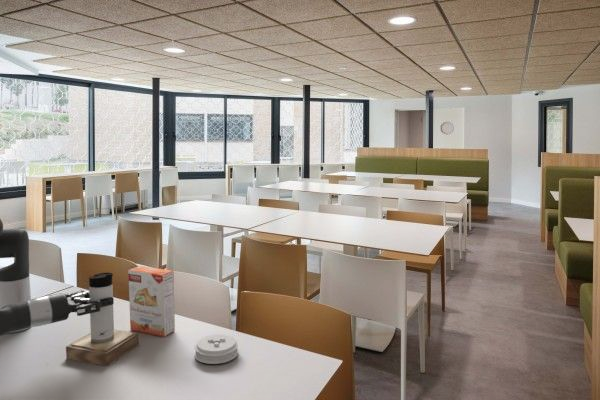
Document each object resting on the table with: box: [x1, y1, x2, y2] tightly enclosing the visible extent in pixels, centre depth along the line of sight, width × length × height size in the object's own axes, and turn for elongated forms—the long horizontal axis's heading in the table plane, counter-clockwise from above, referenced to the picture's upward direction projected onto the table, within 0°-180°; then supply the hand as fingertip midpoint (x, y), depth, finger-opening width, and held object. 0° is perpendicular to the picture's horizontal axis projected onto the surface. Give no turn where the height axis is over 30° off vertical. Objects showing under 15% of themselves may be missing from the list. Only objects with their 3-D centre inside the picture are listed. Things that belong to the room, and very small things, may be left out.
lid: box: [194, 334, 239, 365], centre depth 131 cm, size 13×13×5 cm
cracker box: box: [127, 265, 176, 338], centre depth 146 cm, size 14×6×21 cm, turn 68°
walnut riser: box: [65, 329, 140, 367], centre depth 133 cm, size 14×14×4 cm
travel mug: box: [88, 272, 115, 343], centre depth 131 cm, size 6×7×20 cm
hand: (107, 296), depth 132 cm, fingers open, 8 cm apart
